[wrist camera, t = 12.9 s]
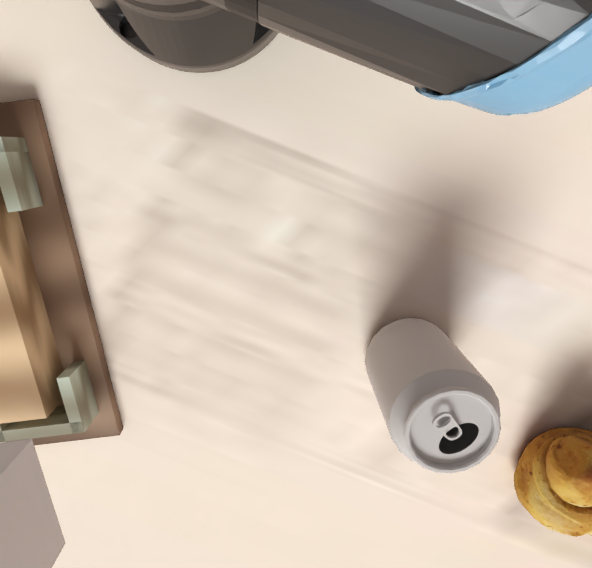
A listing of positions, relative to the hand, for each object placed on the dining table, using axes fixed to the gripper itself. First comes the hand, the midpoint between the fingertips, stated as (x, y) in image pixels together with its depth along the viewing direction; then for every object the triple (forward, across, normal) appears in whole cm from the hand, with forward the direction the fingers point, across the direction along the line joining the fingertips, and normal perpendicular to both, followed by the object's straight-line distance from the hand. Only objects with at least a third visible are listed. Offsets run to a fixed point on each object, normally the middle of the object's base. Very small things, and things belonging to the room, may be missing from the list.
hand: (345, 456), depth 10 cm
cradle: (+29, -23, -2) cm, 37 cm away
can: (+29, +8, -12) cm, 32 cm away
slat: (+28, -23, -2) cm, 36 cm away
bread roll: (+29, +23, -26) cm, 45 cm away
